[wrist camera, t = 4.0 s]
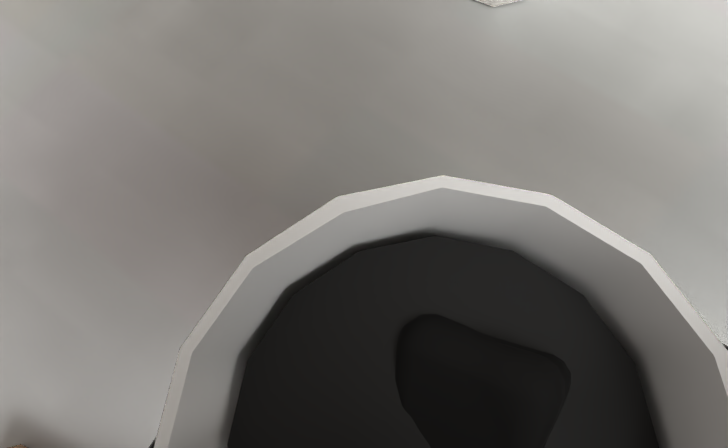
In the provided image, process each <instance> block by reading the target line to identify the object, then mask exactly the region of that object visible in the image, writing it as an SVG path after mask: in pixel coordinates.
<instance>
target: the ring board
mask: <svg viewBox="0 0 728 448" xmlns="http://www.w3.org/2000/svg"><path fill="white" fill-rule="evenodd" d="M9 448H27V447H25V446H23V445H21V444H20V445H16V446H12V447H9Z"/></svg>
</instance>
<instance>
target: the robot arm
mask: <svg viewBox="0 0 728 448" xmlns="http://www.w3.org/2000/svg"><path fill="white" fill-rule="evenodd" d="M722 344H723V343H722ZM723 345H724V344H723ZM724 347H725V348H726V349H727V350H728V346H726V345H724ZM155 441H156V438H155V439H154V441H153V442H152V444H151V445H150V446H149V448H154V444H155Z"/></svg>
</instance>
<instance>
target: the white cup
mask: <svg viewBox="0 0 728 448" xmlns="http://www.w3.org/2000/svg"><path fill="white" fill-rule="evenodd" d="M154 448H728V350H727V349H726V348H725V347H724V345H723V344H722V343H721V342H720V340H719V339H718V338H717V337H716V335H715V334H714V333H713V332H712V330H711V329H710V328H709V327H708V325H707V324H706V323H705V322H704V320H703V319H702V318H701V316H700V315H699V314H698V313H697V311H696V310H695V309H694V308H693V306H692V305H691V304H690V303H689V301H688V300H687V299H686V298H685V296H684V295H683V294H682V293H681V291H680V290H679V289H678V288H677V286H676V285H675V284H674V282H673V281H672V280H671V279H670V277H669V276H668V275H667V274H666V272H665V271H664V270H663V269H662V267H661V266H660V265H659V264H658V262H657V261H656V260H655V259H654V257H653V256H652V255H651V254H649V253H648V252H646V251H645V250H643V249H641V248H640V247H638V246H636V245H635V244H633V243H631V242H630V241H628V240H626V239H625V238H623V237H621V236H620V235H618V234H616V233H615V232H613V231H611V230H610V229H608V228H606V227H605V226H603V225H601V224H600V223H598V222H596V221H595V220H593V219H591V218H590V217H588V216H586V215H585V214H583V213H582V212H580V211H578V210H577V209H575V208H573V207H572V206H570V205H568V204H567V203H565V202H563V201H562V200H560V199H558V198H557V197H555V196H553V195H551V194H546V193H540V192H535V191H529V190H524V189H518V188H512V187H507V186H501V185H496V184H490V183H484V182H479V181H473V180H468V179H462V178H457V177H451V176H445V175H441V176H436V177H431V178H426V179H421V180H416V181H411V182H406V183H401V184H396V185H391V186H386V187H381V188H376V189H371V190H366V191H361V192H356V193H351V194H346V195H341V196H337V197H335V198H334V199H332V200H331V201H329V202H328V203H326V204H325V205H323V206H322V207H320V208H319V209H317V210H315V211H314V212H312V213H311V214H309V215H308V216H306V217H305V218H303V219H302V220H300V221H299V222H297V223H295V224H294V225H292V226H291V227H289V228H288V229H286V230H285V231H283V232H282V233H280V234H279V235H277V236H275V237H274V238H272V239H271V240H269V241H268V242H266V243H265V244H263V245H262V246H260V247H259V248H257V249H256V250H254V251H252V252H251V253H249V254H248V255H246V256H245V258H244V259H243V261H242V262H241V263H240V265H239V266H238V268H237V269H236V270H235V272H234V273H233V275H232V276H231V277H230V279H229V280H228V282H227V283H226V284H225V286H224V287H223V289H222V290H221V291H220V293H219V294H218V295H217V297H216V298H215V300H214V301H213V302H212V304H211V305H210V307H209V308H208V309H207V311H206V312H205V314H204V315H203V316H202V318H201V319H200V321H199V322H198V323H197V325H196V326H195V328H194V329H193V330H192V332H191V333H190V335H189V336H188V337H187V339H186V340H185V342H184V343H183V344H182V346H181V347H180V349H179V353H178V357H177V361H176V364H175V368H174V372H173V376H172V380H171V383H170V387H169V391H168V395H167V399H166V403H165V406H164V410H163V414H162V418H161V422H160V425H159V429H158V433H157V437H156V441H155V444H154Z"/></svg>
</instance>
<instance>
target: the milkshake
mask: <svg viewBox="0 0 728 448" xmlns="http://www.w3.org/2000/svg"><path fill="white" fill-rule="evenodd" d="M475 1H478V2H481V3H484V4H487V5H489V6H492V7H495V6H500V5H504V4H508V3H513V2H517V1H522V0H475Z"/></svg>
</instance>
